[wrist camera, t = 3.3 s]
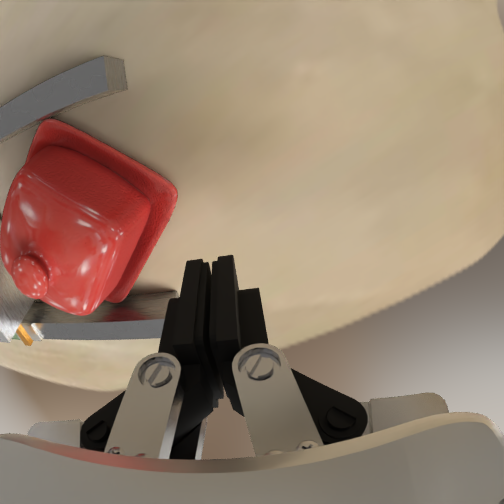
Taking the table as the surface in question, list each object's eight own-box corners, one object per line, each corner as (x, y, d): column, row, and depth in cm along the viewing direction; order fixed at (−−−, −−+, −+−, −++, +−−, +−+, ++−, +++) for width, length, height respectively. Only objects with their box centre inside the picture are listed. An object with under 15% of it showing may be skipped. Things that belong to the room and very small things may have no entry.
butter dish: (52, 107, 13) (-38, 135, 6) (190, 184, 18) (163, 257, 10) (18, 235, 18) (-38, 298, 11) (125, 298, 22) (97, 382, 15)
